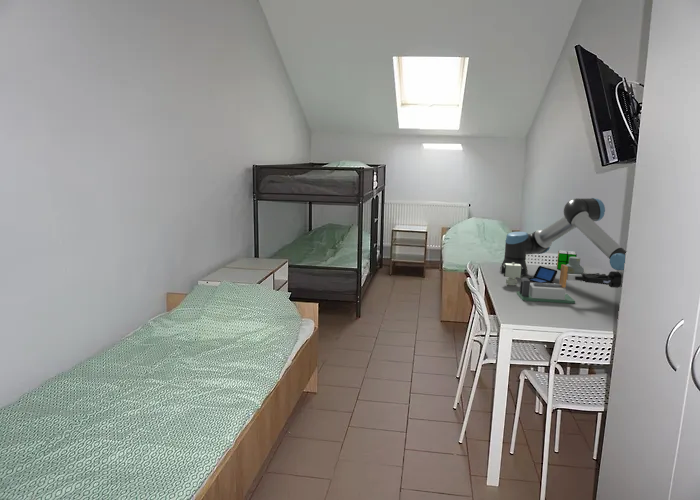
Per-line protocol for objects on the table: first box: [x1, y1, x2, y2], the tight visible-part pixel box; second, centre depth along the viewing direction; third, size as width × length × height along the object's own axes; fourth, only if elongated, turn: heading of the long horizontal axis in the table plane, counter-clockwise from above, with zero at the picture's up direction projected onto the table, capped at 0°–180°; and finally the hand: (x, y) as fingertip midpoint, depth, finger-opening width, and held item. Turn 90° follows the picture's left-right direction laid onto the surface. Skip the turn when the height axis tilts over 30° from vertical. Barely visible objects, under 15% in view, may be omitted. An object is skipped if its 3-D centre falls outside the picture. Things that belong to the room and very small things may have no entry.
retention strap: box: [532, 264, 568, 289], centre depth 257 cm, size 14×5×10 cm, turn 85°
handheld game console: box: [527, 265, 558, 283], centre depth 292 cm, size 12×11×7 cm
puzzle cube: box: [556, 249, 578, 270], centre depth 329 cm, size 10×10×10 cm
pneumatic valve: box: [499, 262, 525, 287], centre depth 283 cm, size 6×12×12 cm, turn 81°
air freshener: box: [566, 256, 585, 275], centre depth 313 cm, size 11×8×10 cm
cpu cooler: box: [516, 277, 576, 304], centre depth 259 cm, size 24×12×9 cm, turn 85°
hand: (567, 277), depth 256 cm, fingers closed
